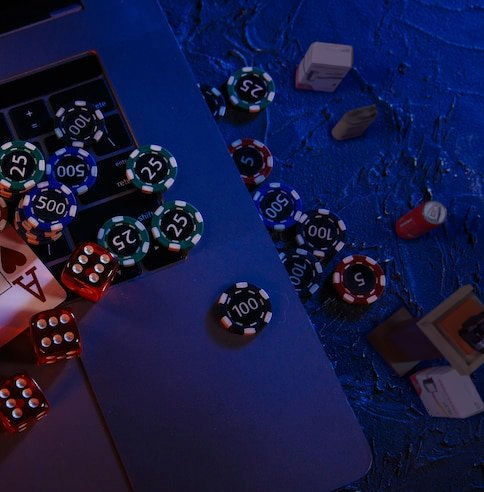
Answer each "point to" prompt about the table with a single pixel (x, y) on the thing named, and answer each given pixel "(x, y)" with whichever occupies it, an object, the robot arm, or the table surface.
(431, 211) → the beverage can
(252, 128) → the table surface
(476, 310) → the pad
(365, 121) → the tan tapered block
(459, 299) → the dock pad
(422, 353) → the stand
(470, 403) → the ink box
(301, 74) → the ink box
